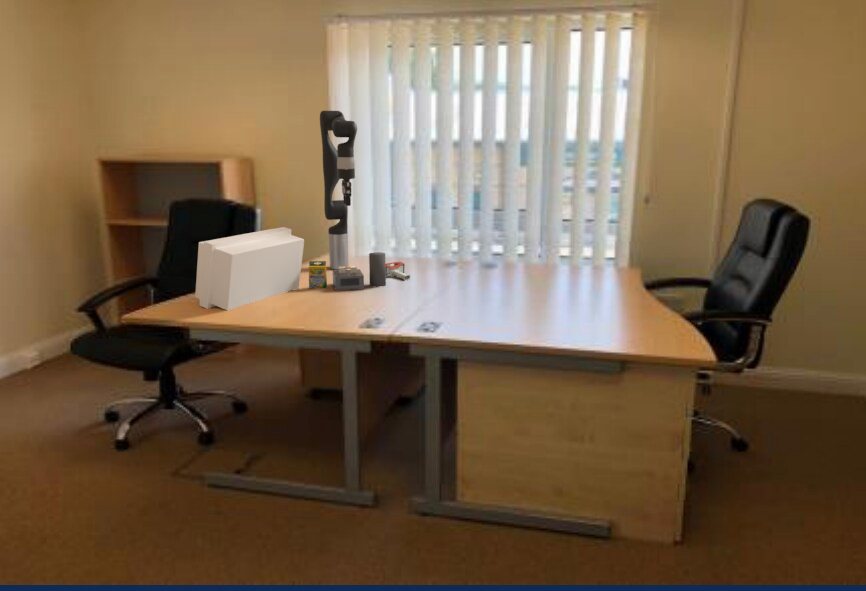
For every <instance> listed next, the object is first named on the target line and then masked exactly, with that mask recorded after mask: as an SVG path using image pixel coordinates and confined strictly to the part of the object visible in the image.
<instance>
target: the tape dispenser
mask: <svg viewBox="0 0 866 591" xmlns="http://www.w3.org/2000/svg"><path fill="white" fill-rule="evenodd" d="M385 268H386V276H387V275H388V274H389V278H395V277H394V276H397V277H398V278H399V279H402V280H406V281H408V280H407V279H409V280H410V279H411V275H410V273H408V274H407V273H405V262H402V261H394V262H386V263H385ZM397 277H396V278H397Z"/></svg>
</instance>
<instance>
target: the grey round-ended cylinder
mask: <svg viewBox="0 0 866 591" xmlns="http://www.w3.org/2000/svg"><path fill="white" fill-rule="evenodd" d="M368 264H369V286H370V287H373V286H376V287H375V288H378V287H377V286H382V287H386V285H387V282H386V281H387V275H386V268H385V264H386V253H385V252H376V251H375V252H370V253H368Z"/></svg>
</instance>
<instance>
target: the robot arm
mask: <svg viewBox="0 0 866 591" xmlns="http://www.w3.org/2000/svg"><path fill="white" fill-rule="evenodd" d="M319 127H320V134H321V144H322V150H321V151H322V170H323V171H322V172H323V173H322V174H323V182H324V184H323V185H324V186H323V187H324V198H323V199H324V209H323V210H324V215H325V216H324V217H325V219H326V220H328V221H330V220H331V221H332V220H333V221H334V220H335V221H336V220H339V221H338V223H336V224H334V225H332V226H330V227H328V232H327V233H328V252H329V254H328V255H329V256H328V258H329V269H331V270H339V267H350V266H349V264H350V263H349V240H348V237H349V235H348V233H349V232H348V217H349V216H348V215H349V212H348V210H349V208H348V207H350V206H351V205H352V204H351V200H352V199H351V198H352V182H351V180H354V179H355V178H356V174H355V172H356V170H355V169H356V168H355V164H356V163H355V153H354V150H355V149H354V146H355V140H356V137H357V132H358V126H357V123H356V122H355V121H353V120H346V118H345V116H344V113H342V111H340V110H321V111H320V113H319ZM331 131H332V133H333V136H334V137H336V138H347V140H346V142H341V143H339V144H337V146H336V147H337V148H336V147H335V145H334V144H333V142H332V140H331V138H330V135H329V132H331ZM340 180H341V192H342V195H343V196H342V198H343V199H339V200H338V199H337V200H333V193H334V191H335V188H336V186H337V184H338V183H339V181H340Z"/></svg>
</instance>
